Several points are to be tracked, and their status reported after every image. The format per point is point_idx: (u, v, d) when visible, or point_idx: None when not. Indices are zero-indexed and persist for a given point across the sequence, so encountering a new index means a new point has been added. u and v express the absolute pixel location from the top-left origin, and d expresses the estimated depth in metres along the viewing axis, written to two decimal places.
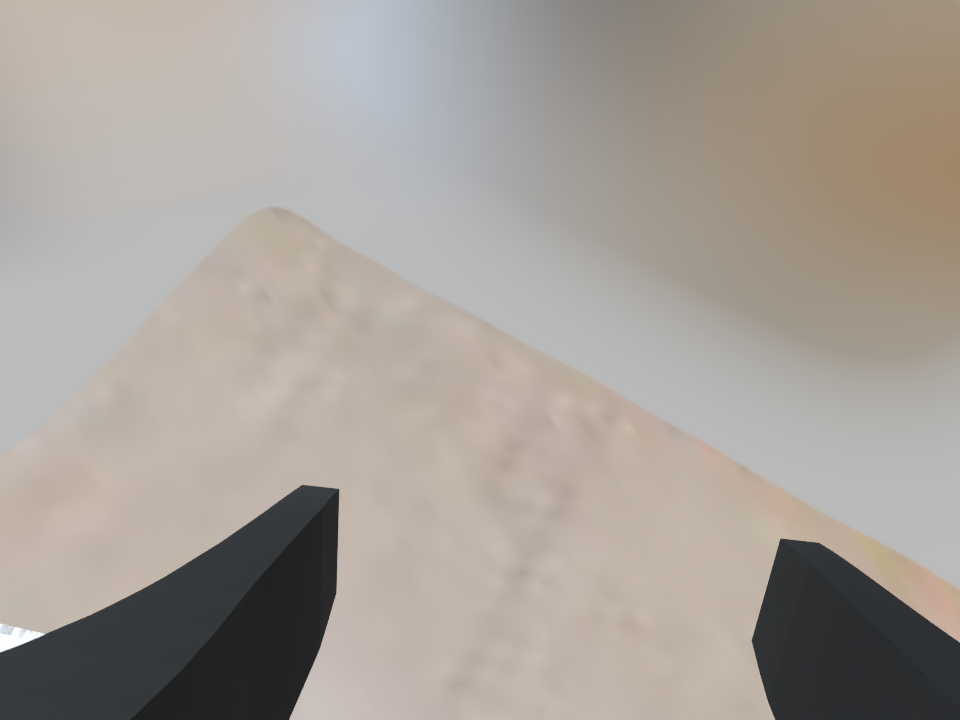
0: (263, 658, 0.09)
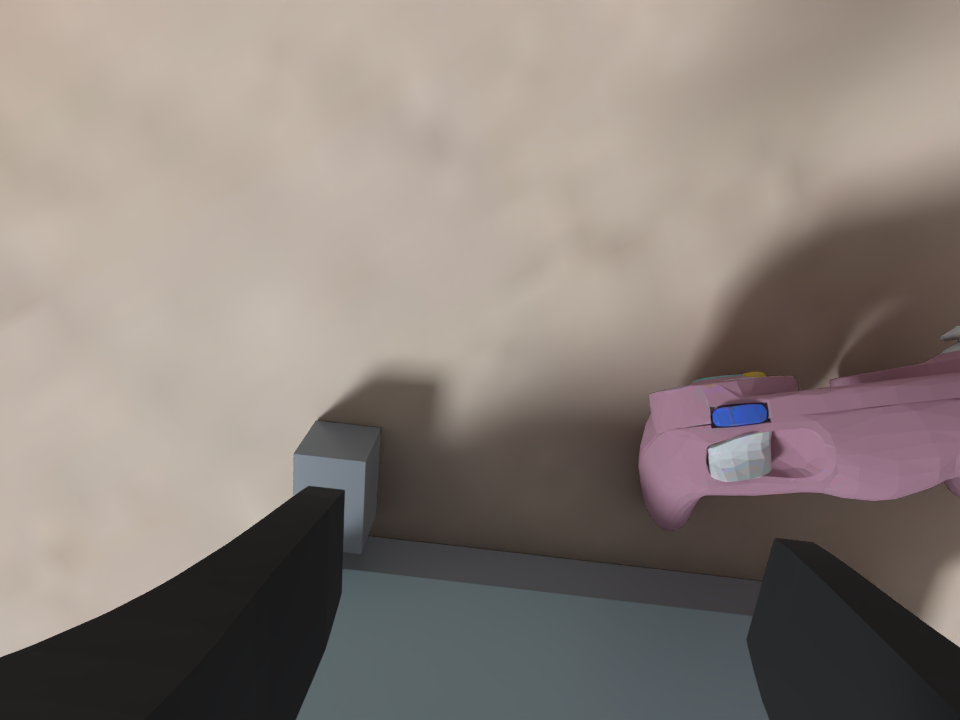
0: (271, 659, 0.09)
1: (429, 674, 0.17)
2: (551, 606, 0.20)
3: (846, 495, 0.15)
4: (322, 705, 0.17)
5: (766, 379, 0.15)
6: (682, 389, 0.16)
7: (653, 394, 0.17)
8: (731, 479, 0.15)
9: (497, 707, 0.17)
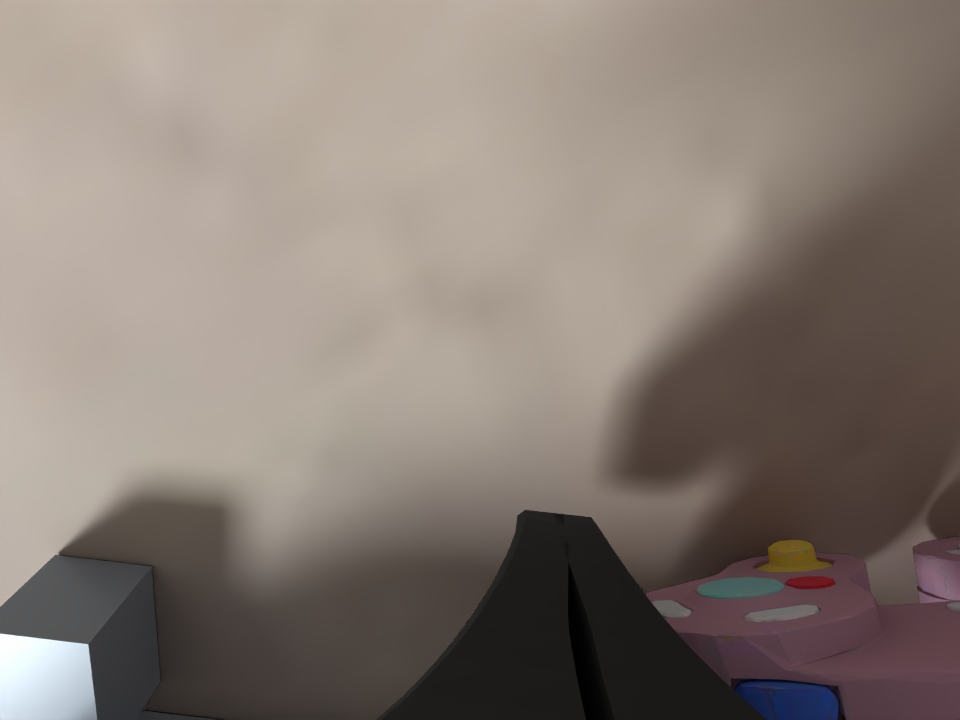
0: None
1: None
2: None
3: None
4: None
5: (832, 627, 0.09)
6: None
7: None
8: None
9: None
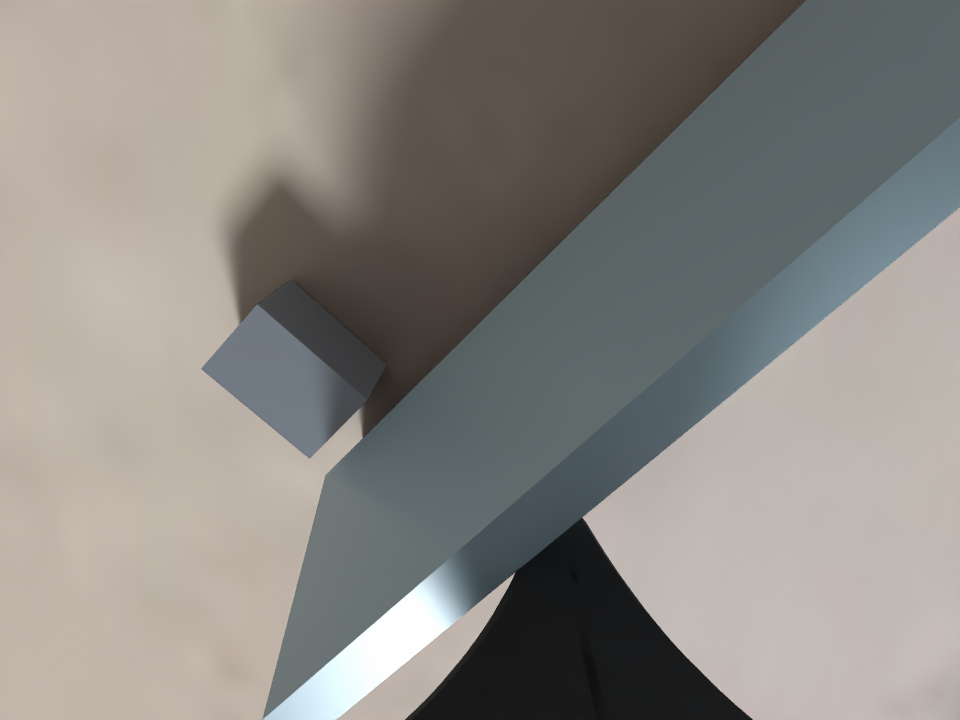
0: None
1: (467, 417, 0.11)
2: (578, 236, 0.13)
3: None
4: (365, 552, 0.11)
5: None
6: None
7: None
8: None
9: (549, 364, 0.10)
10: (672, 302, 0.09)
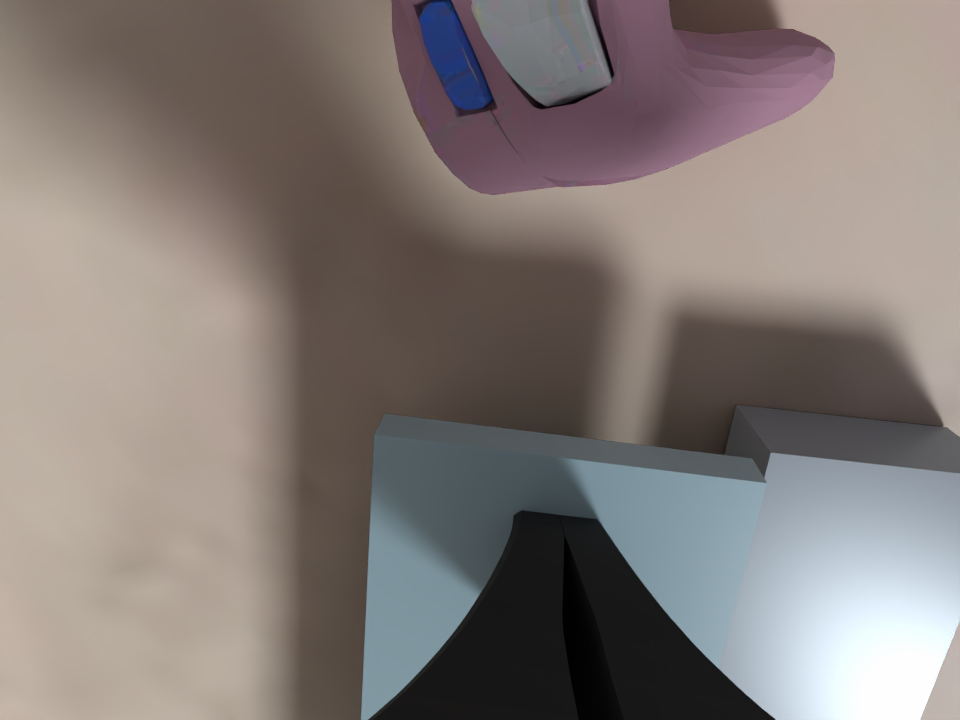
0: None
1: None
2: None
3: None
4: None
5: (393, 2, 0.08)
6: (448, 166, 0.08)
7: (494, 194, 0.09)
8: (598, 46, 0.07)
9: None
10: None
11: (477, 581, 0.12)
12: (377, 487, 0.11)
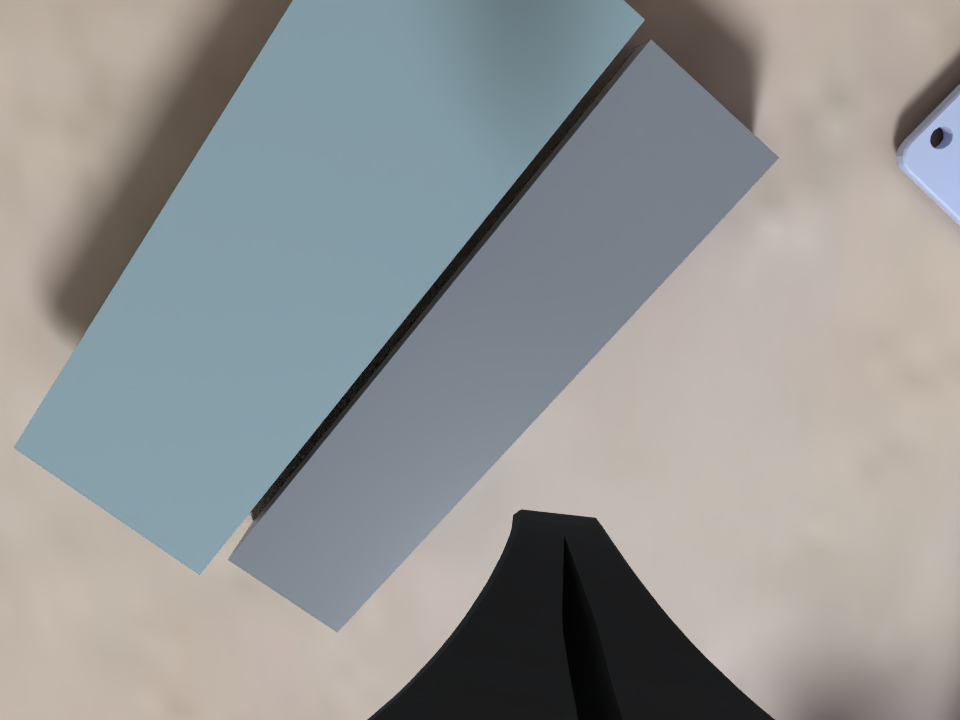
0: None
1: None
2: None
3: None
4: None
5: None
6: None
7: None
8: None
9: None
10: None
11: None
12: None
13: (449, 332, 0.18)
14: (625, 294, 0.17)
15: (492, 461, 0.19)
